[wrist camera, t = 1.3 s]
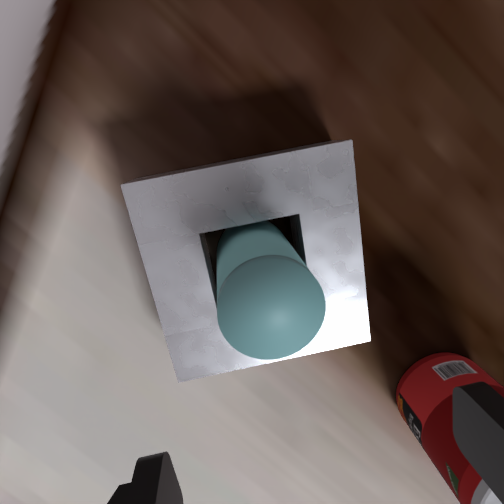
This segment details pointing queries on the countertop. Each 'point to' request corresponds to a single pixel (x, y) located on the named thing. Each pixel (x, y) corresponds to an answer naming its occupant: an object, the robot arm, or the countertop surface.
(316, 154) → the housing
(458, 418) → the robot arm
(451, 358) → the canned food
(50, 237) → the countertop surface
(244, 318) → the teal cylinder
